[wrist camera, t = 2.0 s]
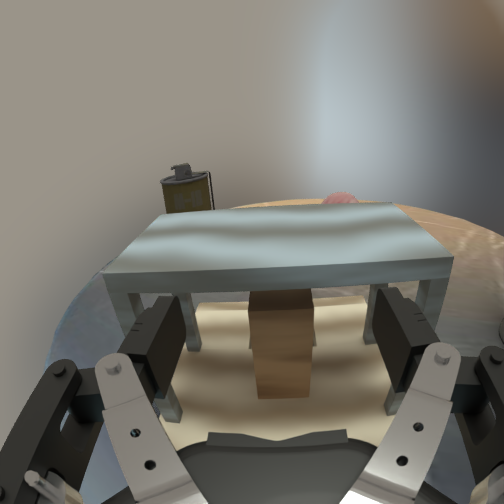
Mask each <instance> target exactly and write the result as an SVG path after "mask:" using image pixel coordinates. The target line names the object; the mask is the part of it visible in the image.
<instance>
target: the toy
mask: <svg viewBox="0 0 504 504" xmlns="http://www.w3.org/2000/svg"><path fill="white" fill-rule="evenodd" d="M334 203H359V202H358V201H357V199H356V198H355V197H354V196H353V195H351V194H349V193H346V192H337V193H333V194H331V195H329V196H328V197H327V198H326V199H325V200H324V201H323V202H322V204H334Z"/></svg>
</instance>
